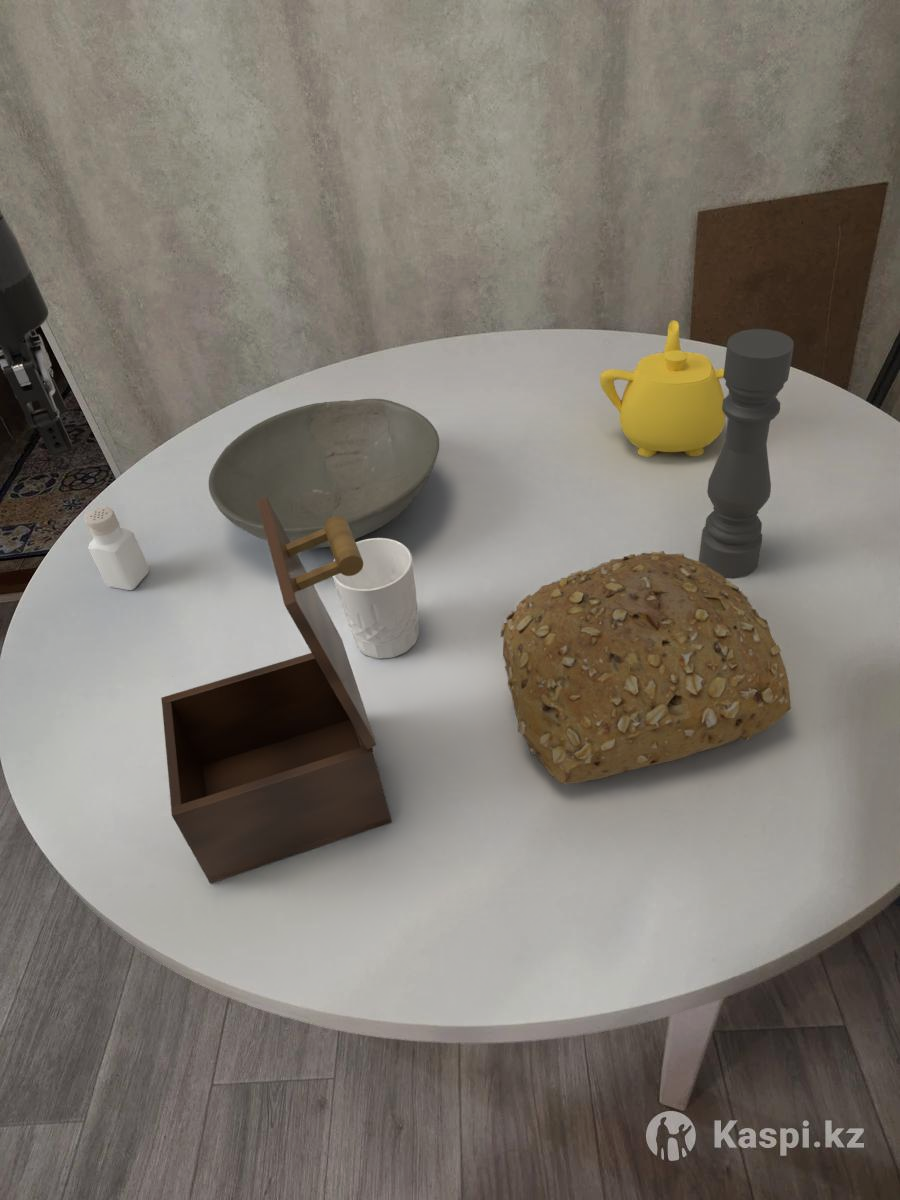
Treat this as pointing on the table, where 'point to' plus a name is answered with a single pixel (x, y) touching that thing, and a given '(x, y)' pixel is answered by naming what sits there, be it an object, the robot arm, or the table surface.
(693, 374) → the teapot
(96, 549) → the pepper shaker
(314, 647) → the lid
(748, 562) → the candle holder
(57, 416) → the robot arm
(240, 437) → the bowl
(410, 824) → the table surface
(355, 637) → the white cup
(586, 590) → the bread
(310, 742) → the compartment
